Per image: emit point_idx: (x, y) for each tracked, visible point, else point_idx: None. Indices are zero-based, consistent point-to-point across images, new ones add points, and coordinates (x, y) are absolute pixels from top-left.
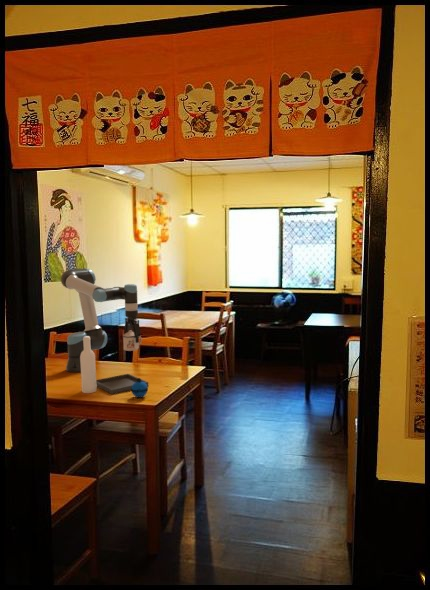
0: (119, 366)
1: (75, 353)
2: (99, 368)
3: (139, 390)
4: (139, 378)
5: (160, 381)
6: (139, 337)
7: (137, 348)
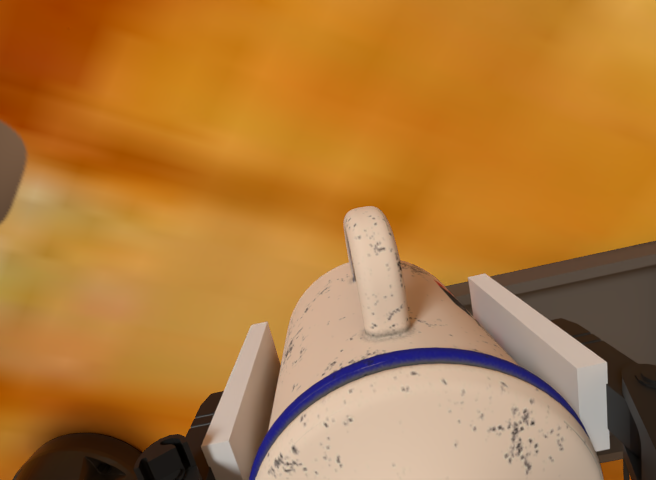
0: (107, 275)
1: None
2: (114, 390)
3: None
4: None
5: (628, 135)
6: (400, 275)
7: (435, 278)
